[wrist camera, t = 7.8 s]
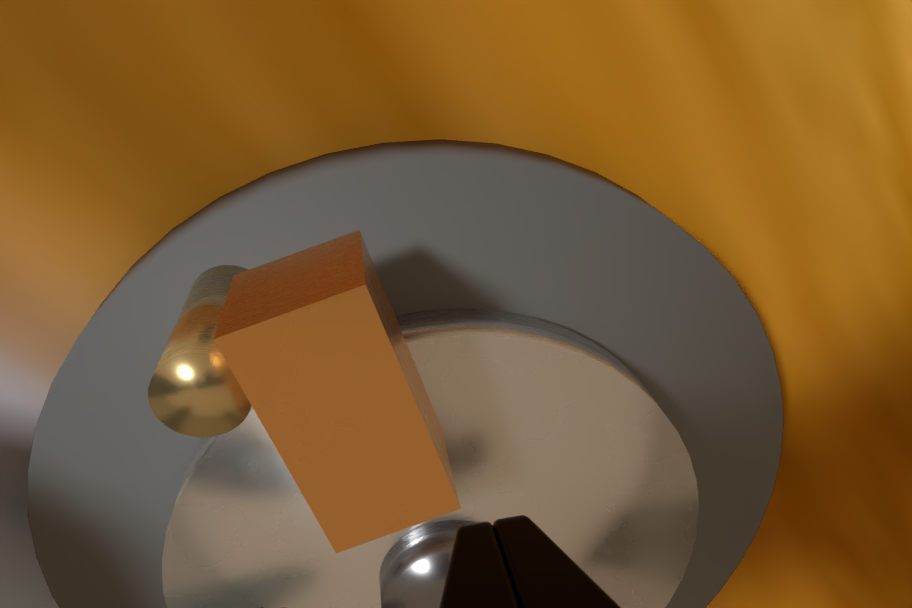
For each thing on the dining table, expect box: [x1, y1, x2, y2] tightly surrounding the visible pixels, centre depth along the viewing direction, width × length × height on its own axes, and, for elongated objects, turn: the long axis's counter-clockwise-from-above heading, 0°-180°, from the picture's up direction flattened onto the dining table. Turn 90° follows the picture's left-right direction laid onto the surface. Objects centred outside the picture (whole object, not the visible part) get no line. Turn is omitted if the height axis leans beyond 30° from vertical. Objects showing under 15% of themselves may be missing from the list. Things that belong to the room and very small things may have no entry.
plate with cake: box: [162, 230, 699, 608], centre depth 19 cm, size 19×16×5 cm
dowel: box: [148, 265, 251, 438], centre depth 16 cm, size 2×2×4 cm
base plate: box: [28, 140, 784, 608], centre depth 23 cm, size 24×24×2 cm
